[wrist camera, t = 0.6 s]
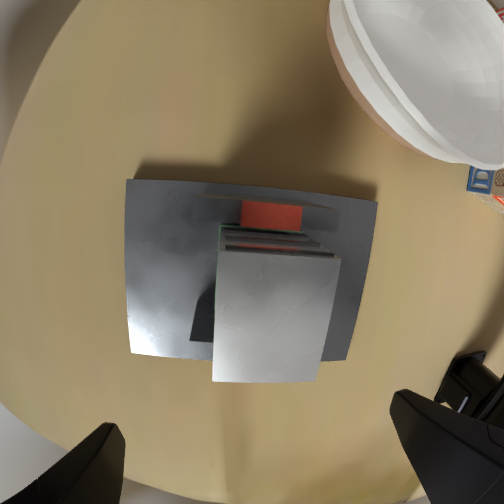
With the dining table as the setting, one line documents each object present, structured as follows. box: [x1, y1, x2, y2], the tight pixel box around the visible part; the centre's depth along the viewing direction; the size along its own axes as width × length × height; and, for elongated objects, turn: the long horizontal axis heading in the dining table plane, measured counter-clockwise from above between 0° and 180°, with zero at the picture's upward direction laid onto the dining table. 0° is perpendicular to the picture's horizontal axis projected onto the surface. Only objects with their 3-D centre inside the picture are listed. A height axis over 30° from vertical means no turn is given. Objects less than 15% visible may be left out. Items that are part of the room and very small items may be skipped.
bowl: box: [326, 0, 504, 170], centre depth 13 cm, size 16×16×8 cm
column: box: [212, 222, 341, 383], centre depth 14 cm, size 4×5×8 cm
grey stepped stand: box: [125, 179, 378, 361], centre depth 16 cm, size 16×12×7 cm
